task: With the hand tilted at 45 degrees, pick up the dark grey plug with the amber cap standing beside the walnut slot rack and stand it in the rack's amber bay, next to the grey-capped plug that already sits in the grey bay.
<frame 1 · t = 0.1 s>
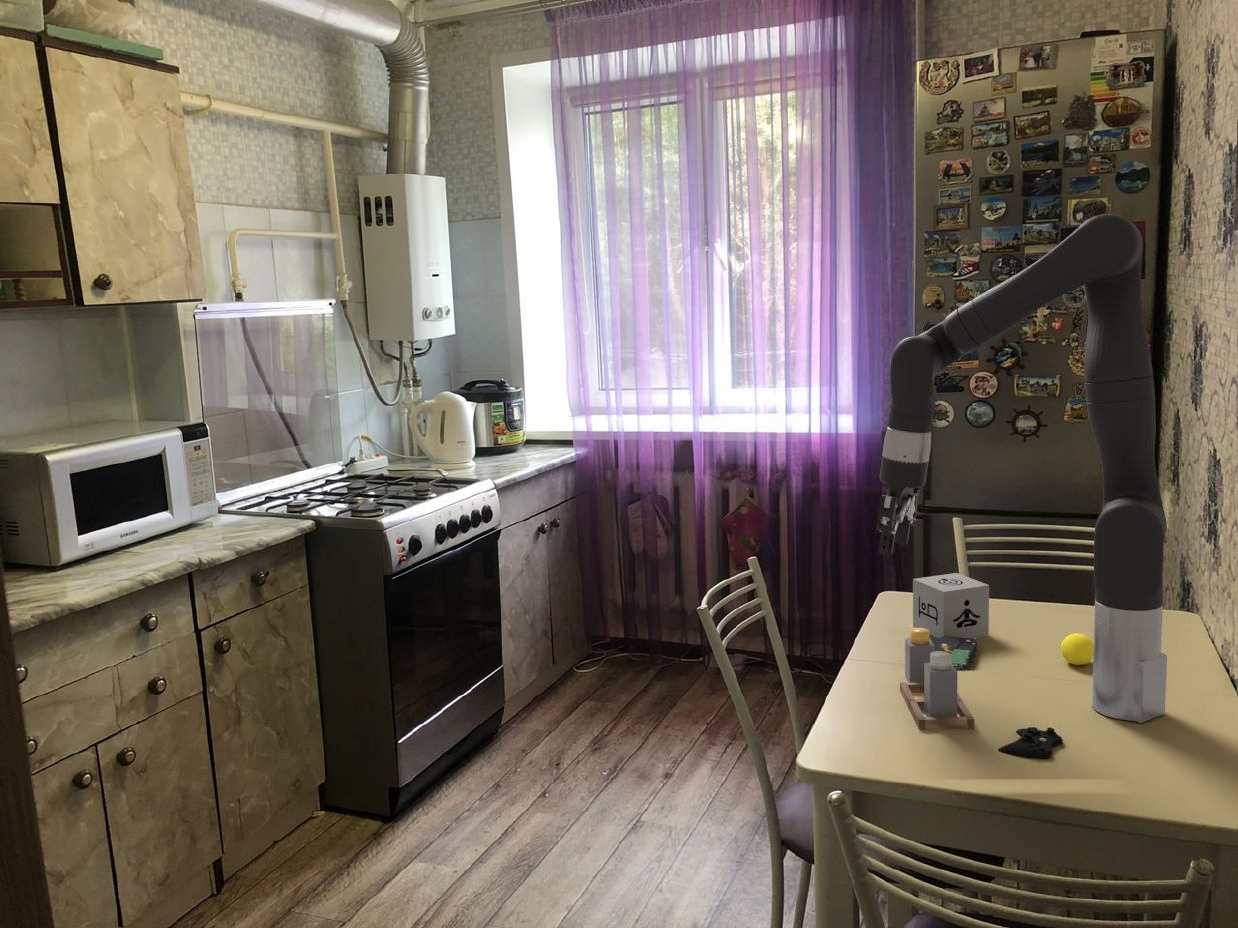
hand: (893, 548, 172), 22 cm above the table, tool pointing down, fingers open, 8 cm apart
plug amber: (919, 688, 169), on the table
lemon: (1077, 664, 177), on the table
icon cube: (950, 632, 196), on the table
plug grey: (940, 717, 153), point 1 cm above the table, touching rack
disk drive: (942, 663, 182), on the table
rack: (935, 716, 157), on the table
game controller: (1030, 756, 143), on the table
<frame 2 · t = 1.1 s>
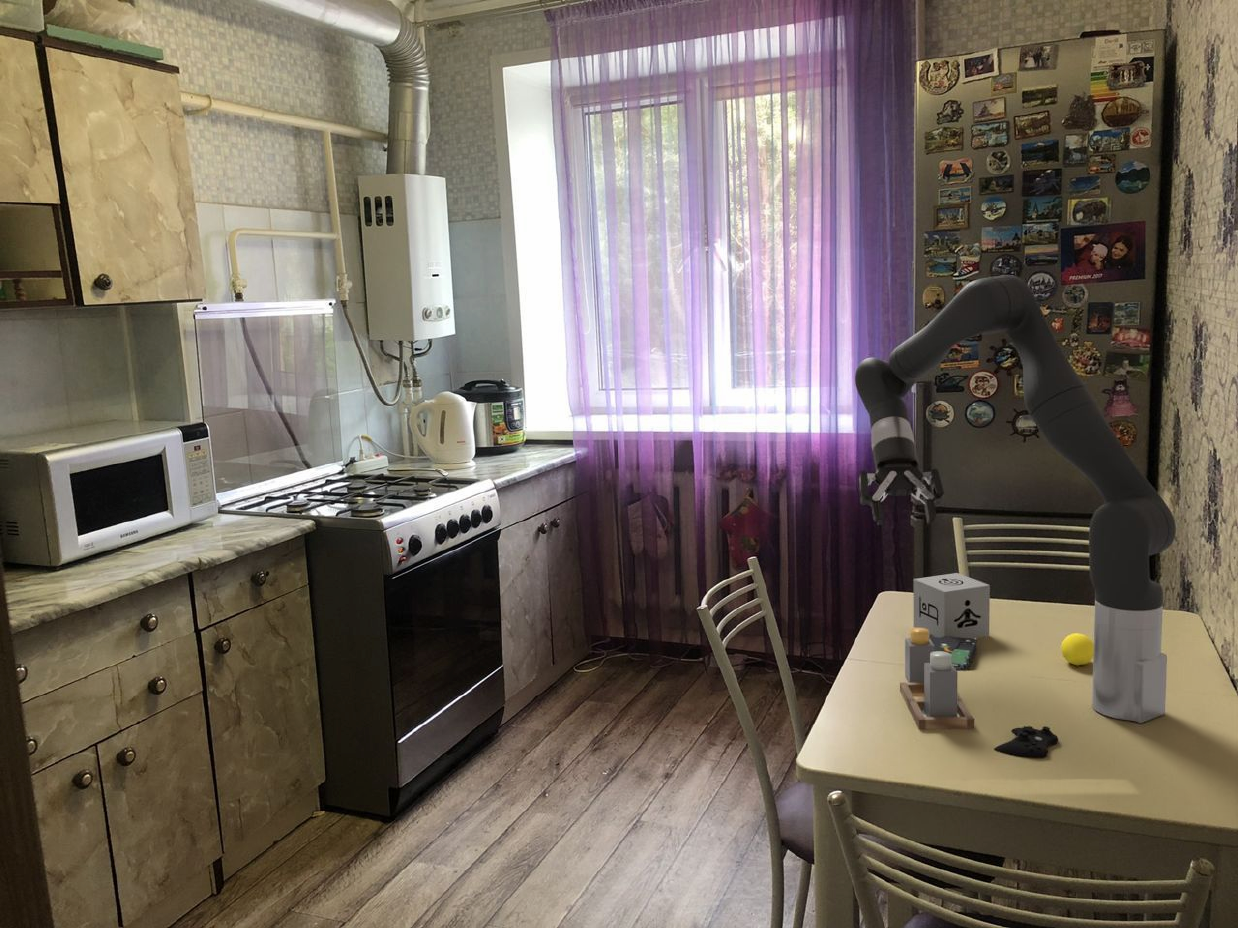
hand: (905, 521, 176), 26 cm above the table, tool tilted 45°, fingers open, 8 cm apart
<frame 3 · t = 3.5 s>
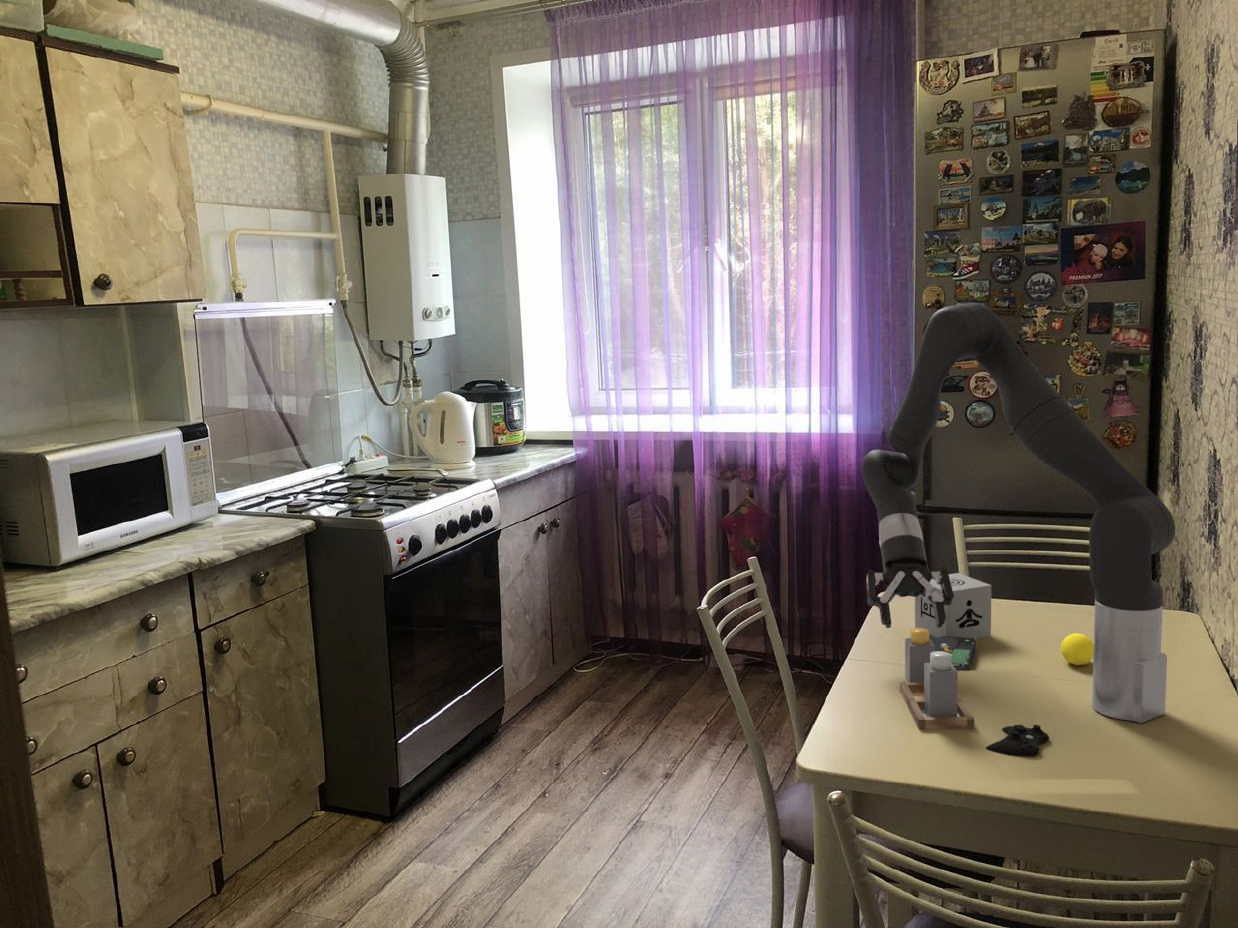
hand: (914, 625, 172), 9 cm above the table, tool tilted 45°, fingers open, 8 cm apart
game controller: (1017, 754, 144), on the table
everything else where it was.
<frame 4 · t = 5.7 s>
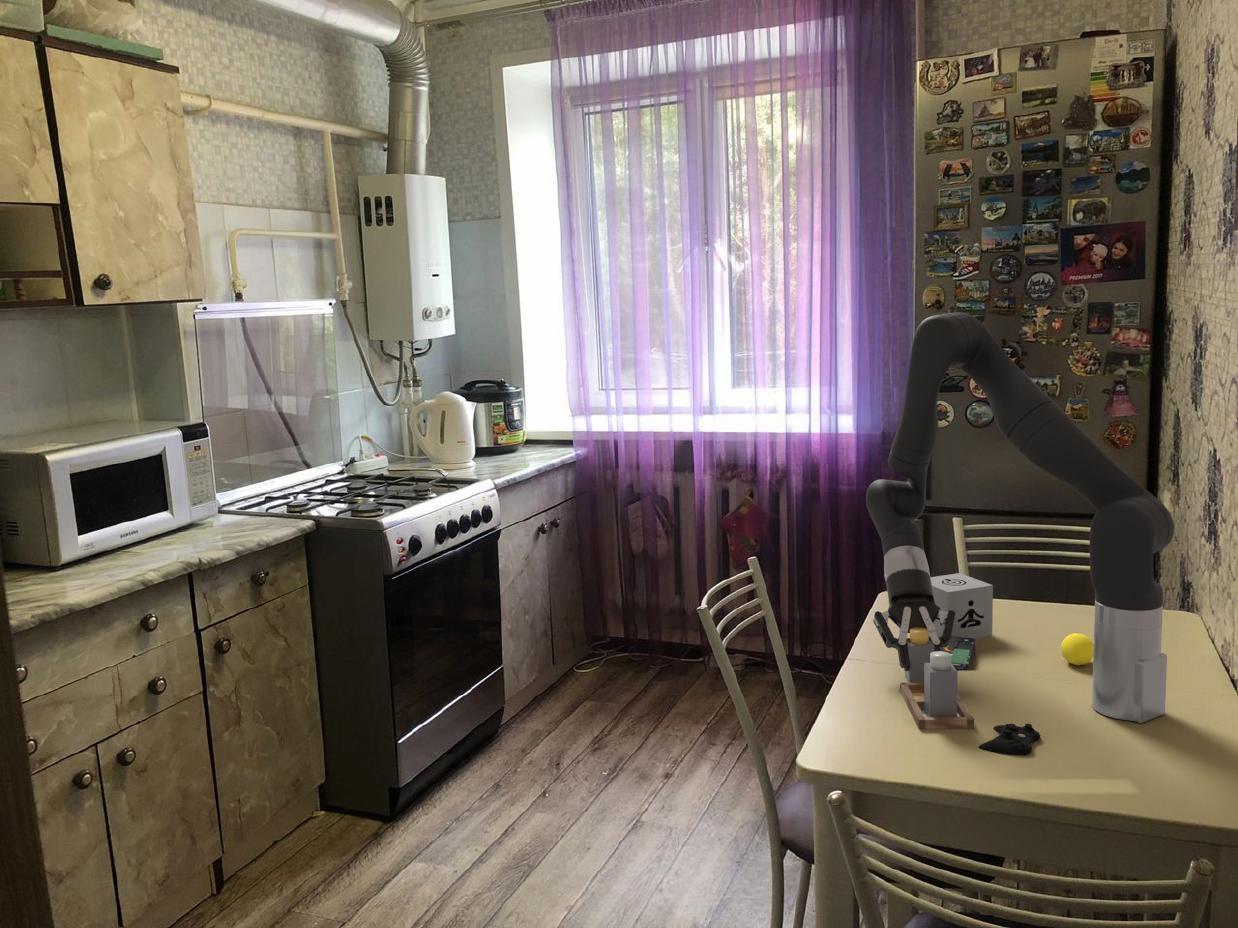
hand: (921, 668, 166), 4 cm above the table, tool tilted 45°, fingers closed on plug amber, 4 cm apart
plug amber: (919, 687, 169), on the table, touching gripper
game controller: (1009, 753, 145), on the table
everything else where it was.
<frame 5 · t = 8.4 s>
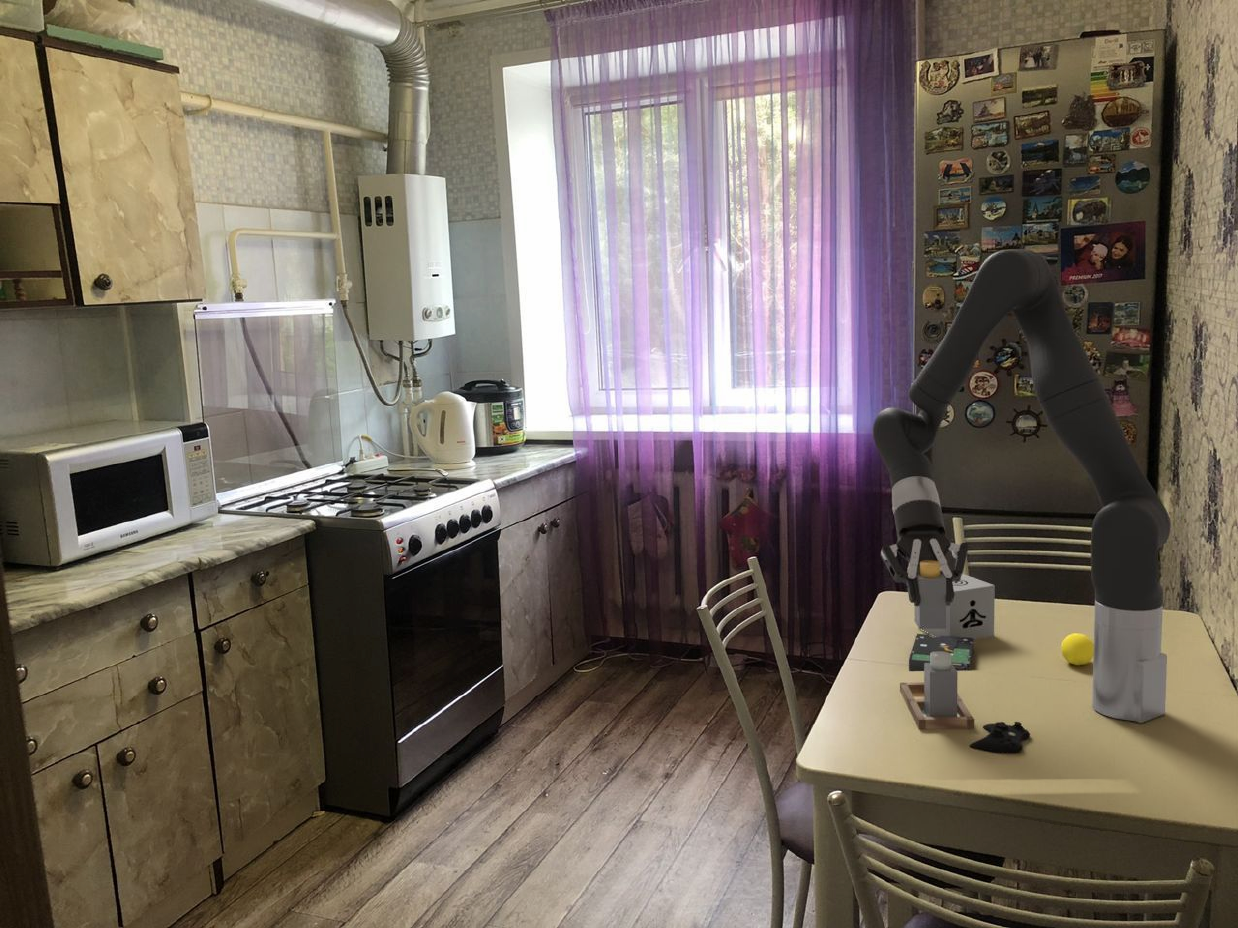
hand: (932, 603, 156), 18 cm above the table, tool tilted 45°, fingers closed on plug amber, 4 cm apart
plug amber: (930, 624, 159), point 14 cm above the table, touching gripper
game controller: (999, 751, 145), on the table
when the fingers open (7 cm above the table, at t = 11.2 s): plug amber drops 1 cm, resting on rack.
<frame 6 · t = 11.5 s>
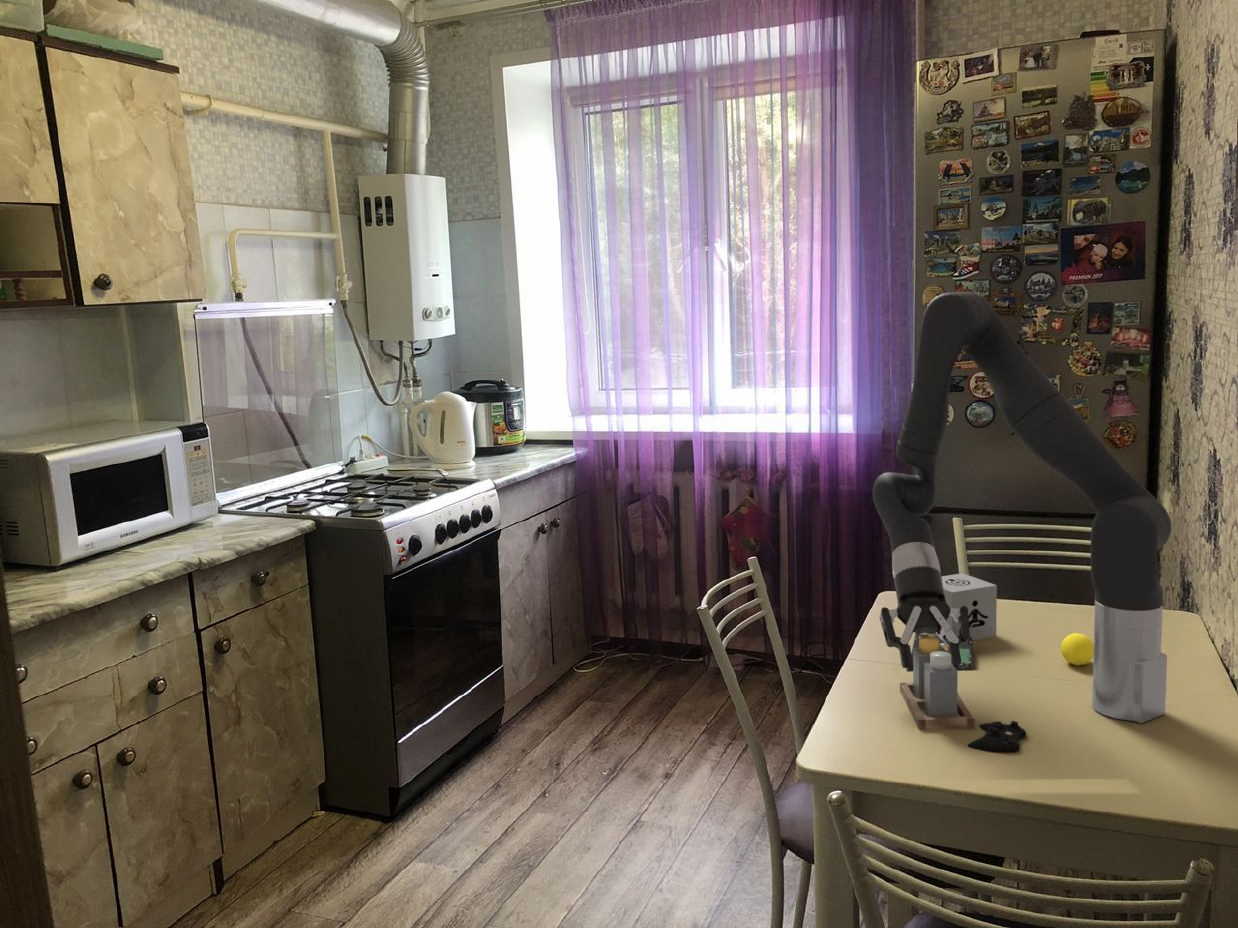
hand: (932, 669, 158), 7 cm above the table, tool tilted 45°, fingers open, 6 cm apart
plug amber: (929, 699, 161), point 1 cm above the table, touching rack
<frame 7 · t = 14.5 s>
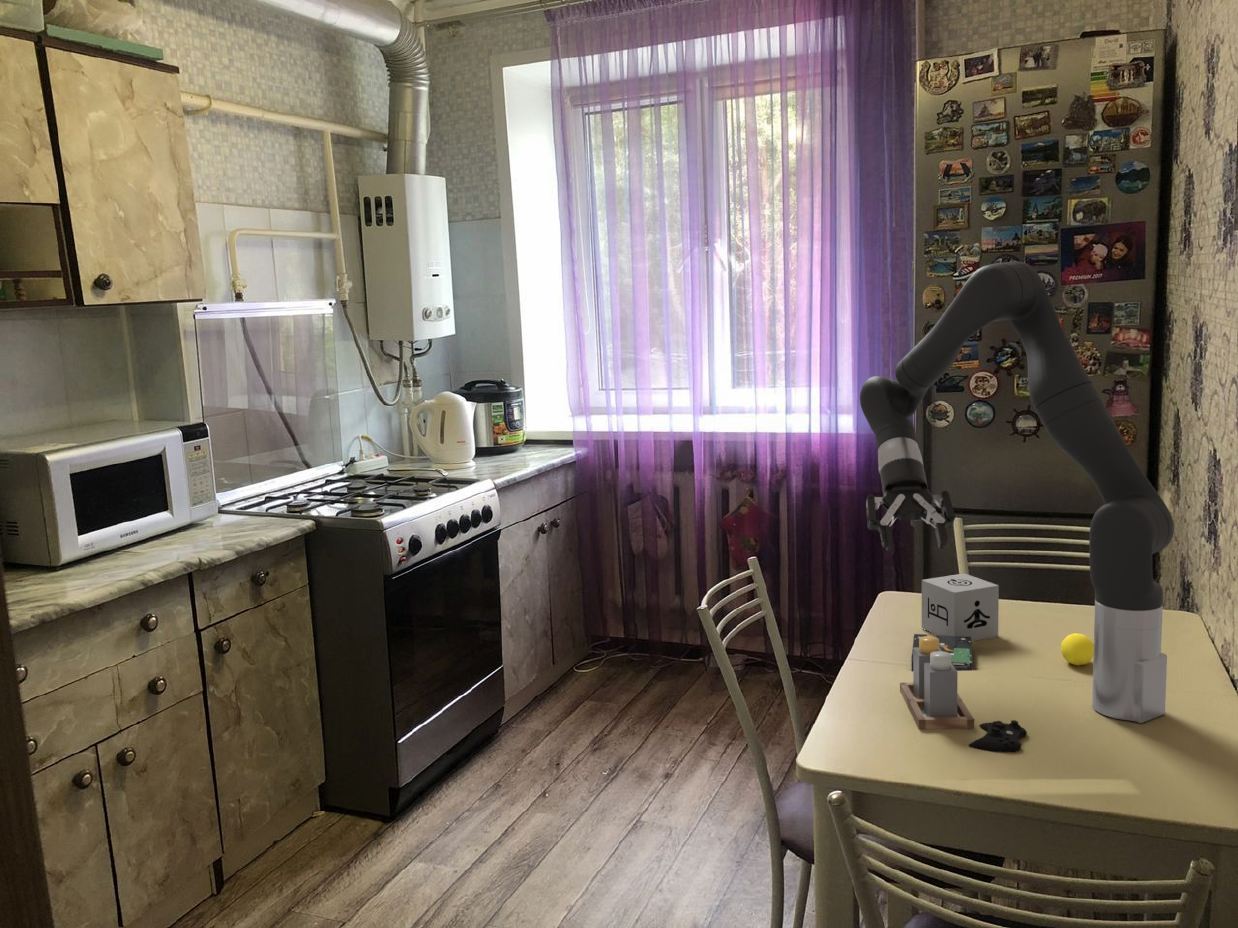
hand: (915, 547, 169), 23 cm above the table, tool tilted 45°, fingers open, 8 cm apart
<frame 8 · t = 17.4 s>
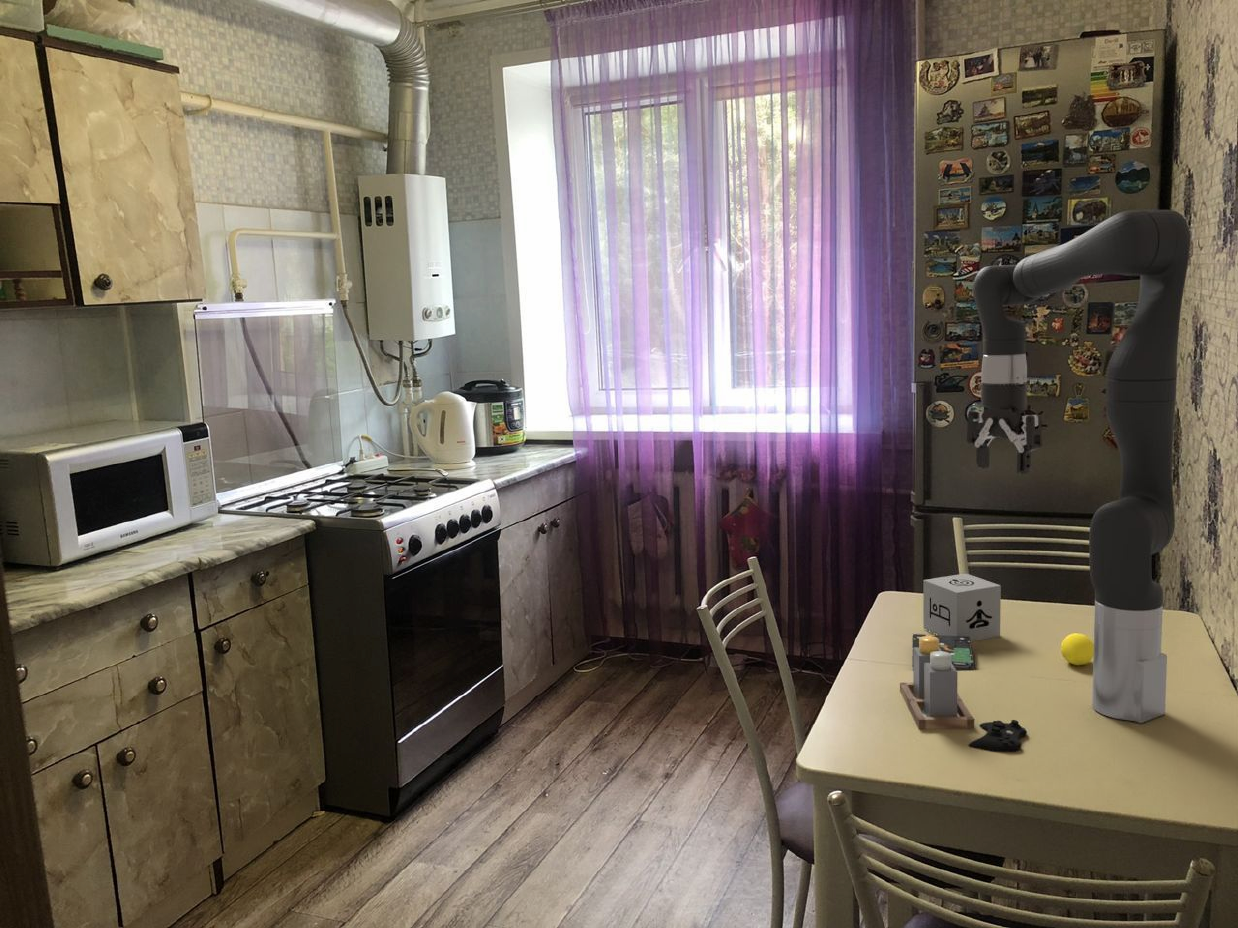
hand: (1002, 470, 181), 33 cm above the table, tool pointing down, fingers open, 8 cm apart
at the end: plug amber 0.2 cm from the target spot on the rack, point 1.3 cm above the rack's base; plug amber tilted 0°; the gripper is holding nothing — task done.
